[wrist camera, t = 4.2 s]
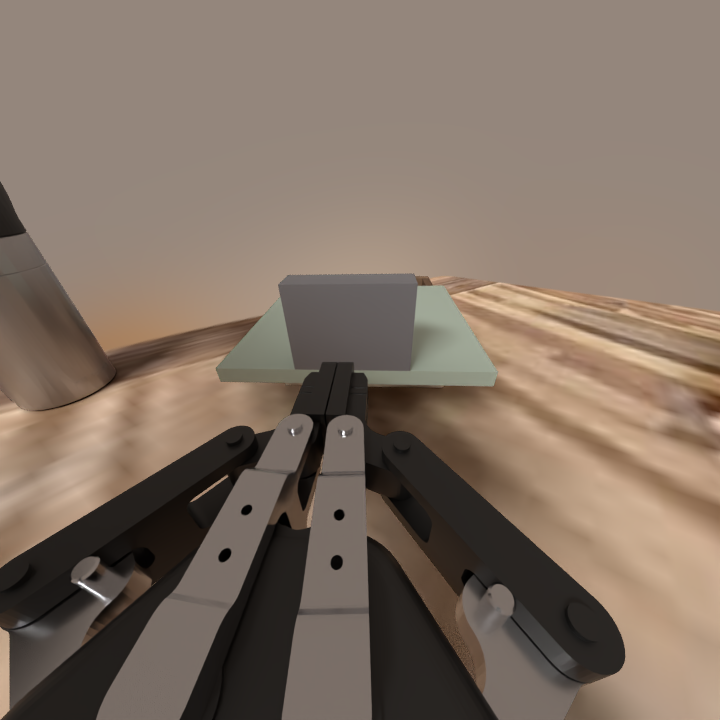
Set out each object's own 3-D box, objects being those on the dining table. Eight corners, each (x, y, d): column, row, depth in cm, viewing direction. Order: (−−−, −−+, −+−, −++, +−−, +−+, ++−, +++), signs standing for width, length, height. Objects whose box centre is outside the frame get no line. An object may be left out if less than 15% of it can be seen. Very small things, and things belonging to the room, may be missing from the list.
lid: (220, 381, 20) (182, 285, 16) (290, 296, 35) (279, 236, 31) (493, 386, 18) (525, 282, 15) (442, 295, 34) (451, 232, 30)
